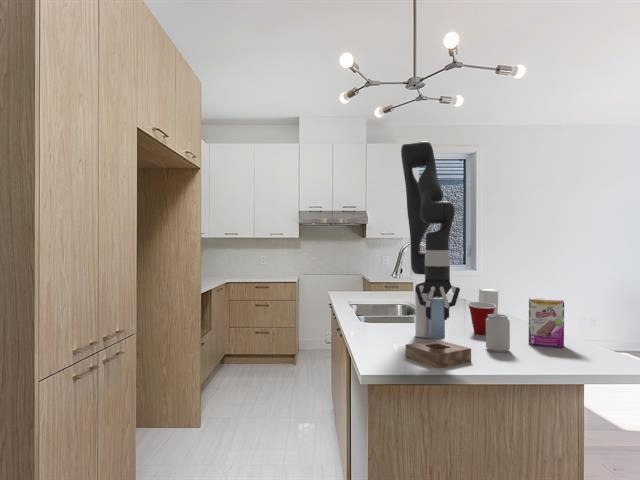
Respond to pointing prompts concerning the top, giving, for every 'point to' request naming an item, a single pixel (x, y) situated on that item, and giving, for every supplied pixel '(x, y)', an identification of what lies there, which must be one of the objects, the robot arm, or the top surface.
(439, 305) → the peg
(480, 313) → the plastic cup
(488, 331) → the can
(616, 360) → the top surface
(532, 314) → the candy bar box
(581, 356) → the top surface
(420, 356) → the socket block
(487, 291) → the skincare box
